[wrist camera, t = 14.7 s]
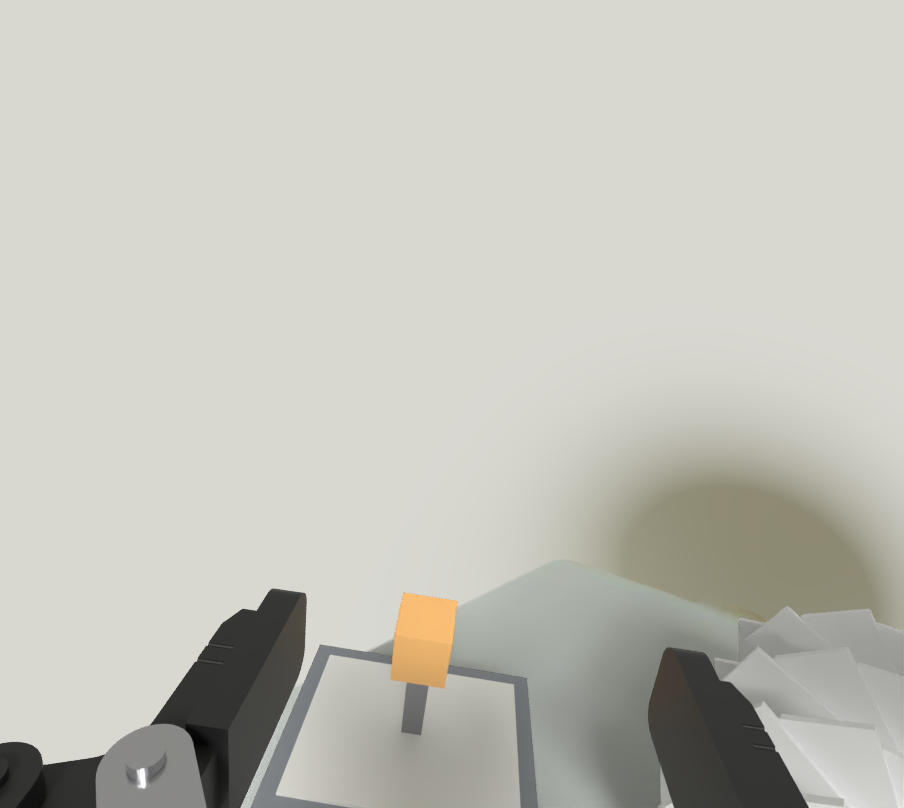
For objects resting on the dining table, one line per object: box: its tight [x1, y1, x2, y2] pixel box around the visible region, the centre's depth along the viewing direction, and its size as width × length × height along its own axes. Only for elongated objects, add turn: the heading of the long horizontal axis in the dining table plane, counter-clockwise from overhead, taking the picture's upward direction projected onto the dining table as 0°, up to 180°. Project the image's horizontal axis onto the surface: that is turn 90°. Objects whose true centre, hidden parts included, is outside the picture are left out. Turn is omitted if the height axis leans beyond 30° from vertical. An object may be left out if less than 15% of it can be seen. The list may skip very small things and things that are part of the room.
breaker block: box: [251, 645, 538, 808], centre depth 34 cm, size 12×15×8 cm
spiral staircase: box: [658, 606, 904, 808], centre depth 32 cm, size 18×18×25 cm
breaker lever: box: [391, 593, 457, 735], centre depth 30 cm, size 2×3×11 cm
